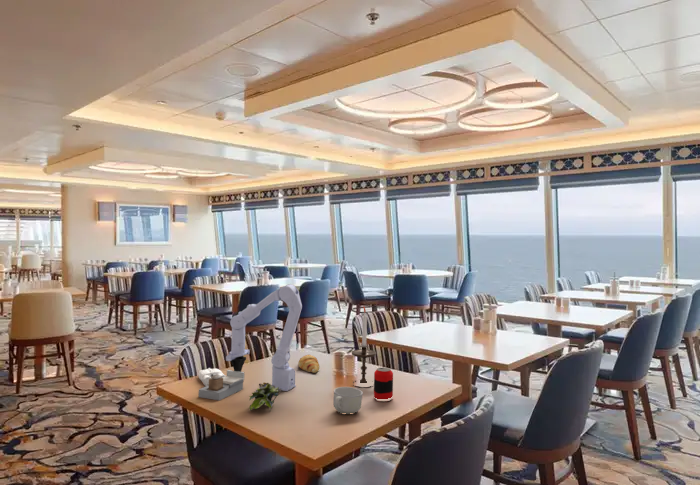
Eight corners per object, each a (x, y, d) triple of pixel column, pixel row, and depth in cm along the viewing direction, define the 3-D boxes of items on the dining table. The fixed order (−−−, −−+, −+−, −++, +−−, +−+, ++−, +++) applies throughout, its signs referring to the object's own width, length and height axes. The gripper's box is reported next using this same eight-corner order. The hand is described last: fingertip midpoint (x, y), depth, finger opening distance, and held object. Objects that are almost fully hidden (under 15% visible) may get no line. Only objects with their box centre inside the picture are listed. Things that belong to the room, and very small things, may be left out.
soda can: (386, 395, 200) (387, 366, 200) (396, 400, 194) (396, 370, 194) (370, 397, 197) (371, 368, 197) (379, 403, 190) (380, 372, 190)
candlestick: (346, 383, 216) (347, 305, 216) (365, 379, 222) (366, 303, 222) (361, 389, 207) (362, 308, 207) (380, 385, 213) (382, 306, 213)
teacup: (345, 405, 188) (346, 384, 188) (368, 411, 181) (368, 390, 181) (321, 414, 177) (321, 392, 177) (344, 422, 170) (344, 399, 170)
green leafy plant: (263, 419, 186) (276, 389, 192) (276, 422, 177) (291, 391, 183) (239, 406, 181) (254, 376, 187) (252, 409, 173) (267, 377, 178)
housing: (243, 389, 205) (243, 379, 205) (219, 400, 190) (220, 389, 190) (222, 385, 209) (222, 376, 209) (197, 396, 194) (198, 386, 194)
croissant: (321, 380, 231) (329, 365, 233) (304, 373, 227) (312, 357, 229) (305, 368, 251) (313, 354, 252) (289, 361, 247) (297, 347, 248)
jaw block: (222, 395, 197) (223, 375, 197) (216, 398, 193) (217, 378, 193) (214, 393, 198) (215, 374, 198) (208, 396, 194) (208, 376, 194)
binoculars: (203, 387, 207) (203, 376, 207) (195, 377, 221) (195, 367, 221) (227, 384, 212) (228, 373, 212) (218, 375, 226) (218, 365, 226)
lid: (244, 379, 207) (244, 372, 207) (233, 384, 200) (233, 376, 200) (228, 377, 210) (228, 369, 210) (216, 382, 203) (216, 374, 203)
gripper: (240, 338, 218) (239, 368, 218) (220, 345, 205) (219, 377, 205) (253, 340, 215) (253, 370, 216) (234, 346, 202) (233, 379, 202)
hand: (237, 374), depth 210 cm, fingers closed
